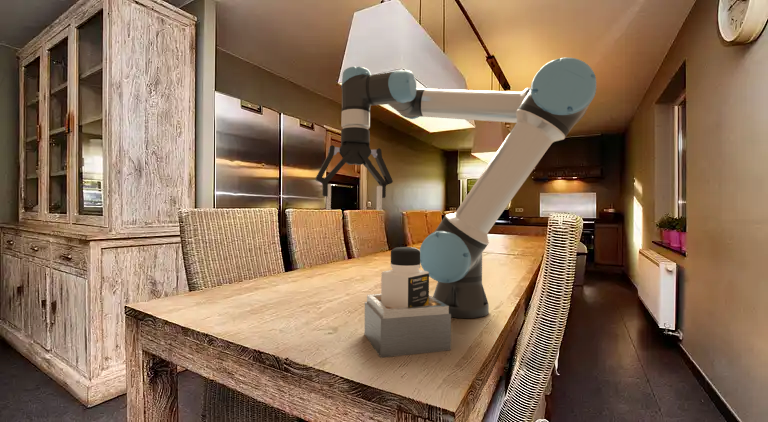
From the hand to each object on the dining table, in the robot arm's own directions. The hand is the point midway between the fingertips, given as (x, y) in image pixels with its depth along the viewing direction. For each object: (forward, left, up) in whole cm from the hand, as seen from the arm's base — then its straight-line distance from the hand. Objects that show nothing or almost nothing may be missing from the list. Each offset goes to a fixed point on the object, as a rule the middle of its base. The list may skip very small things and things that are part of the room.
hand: (354, 210), depth 96 cm
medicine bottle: (-6, +24, -20) cm, 32 cm away
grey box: (-6, +24, -27) cm, 36 cm away
